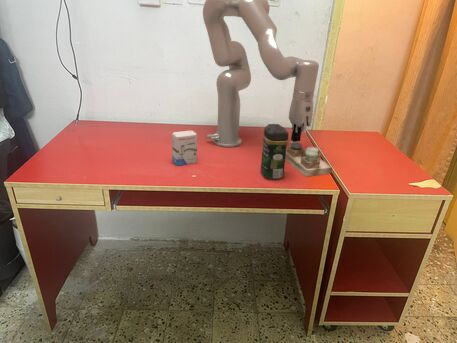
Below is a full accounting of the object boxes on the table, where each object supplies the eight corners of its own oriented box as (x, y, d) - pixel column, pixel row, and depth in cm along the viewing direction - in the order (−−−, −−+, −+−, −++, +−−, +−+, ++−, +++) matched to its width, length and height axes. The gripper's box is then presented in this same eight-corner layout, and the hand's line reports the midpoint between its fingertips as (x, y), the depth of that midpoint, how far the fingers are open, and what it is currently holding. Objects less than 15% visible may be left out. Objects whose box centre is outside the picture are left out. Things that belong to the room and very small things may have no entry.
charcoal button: (293, 156, 135) (294, 146, 133) (287, 152, 139) (289, 142, 137) (302, 155, 136) (304, 145, 135) (297, 151, 140) (298, 141, 138)
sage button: (308, 165, 125) (309, 155, 123) (301, 160, 129) (303, 150, 127) (318, 164, 127) (320, 154, 125) (312, 159, 130) (313, 149, 129)
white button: (309, 161, 132) (310, 151, 130) (303, 156, 135) (304, 147, 134) (319, 160, 133) (320, 150, 131) (313, 155, 137) (314, 146, 135)
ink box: (176, 166, 129) (175, 136, 123) (172, 161, 133) (171, 132, 127) (197, 162, 132) (197, 134, 127) (192, 157, 136) (192, 129, 131)
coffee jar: (257, 169, 129) (262, 122, 121) (278, 168, 131) (283, 122, 123) (264, 181, 121) (269, 131, 113) (285, 180, 122) (292, 131, 114)
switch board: (305, 176, 125) (307, 164, 123) (282, 157, 141) (283, 145, 138) (331, 173, 129) (333, 161, 127) (306, 154, 144) (307, 143, 142)
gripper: (322, 100, 122) (313, 147, 130) (301, 89, 135) (294, 133, 143) (304, 100, 120) (296, 148, 128) (284, 90, 132) (278, 134, 140)
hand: (295, 140), depth 135 cm, fingers closed
